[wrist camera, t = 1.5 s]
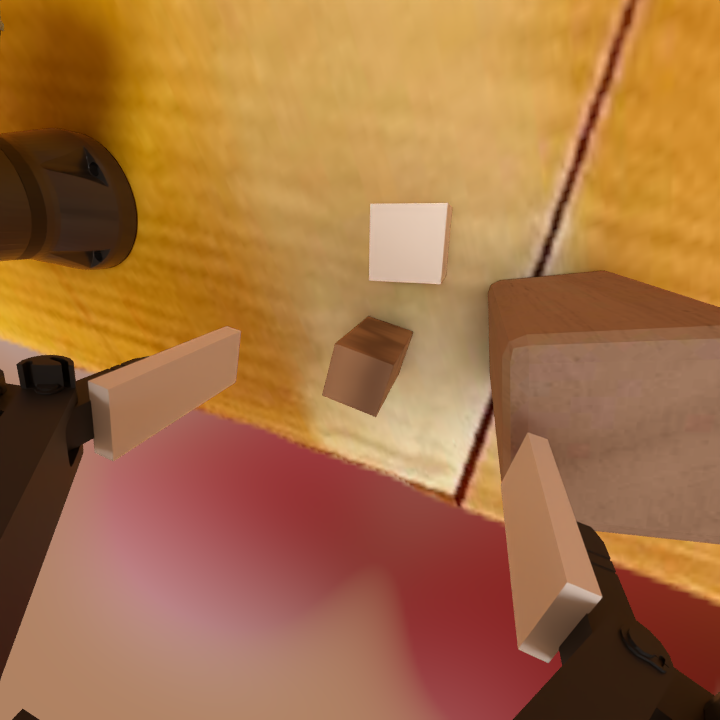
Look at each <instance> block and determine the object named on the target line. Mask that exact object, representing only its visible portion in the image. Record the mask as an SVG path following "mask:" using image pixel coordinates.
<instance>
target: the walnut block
mask: <svg viewBox="0 0 720 720" xmlns="http://www.w3.org/2000/svg"><path fill="white" fill-rule="evenodd" d="M412 334H413V332H412V331H409V330H407V329H404V328H401V327H398V326H395V325H392V324H390V323H387V322H384V321H381V320H378V319H375V318H373V317H370V316H368V317H367V318H366V319H364V320H363V321H362V322H361V323H360V324H358V325H357V326H356V327H355V328H354V329H352V330H351V331H350V332H349V333H347V334H346V335H345V336H344V337H343V338H341V339H340V340H339V341H338V342H337V343H335V347H334V351H333V354H332V358H331V362H330V366H329V370H328V374H327V378H326V382H325V386H324V390H323V394H322V395H323V396H325V397H328V398H330V399H332V400H335V401H337V402H340V403H342V404H345V405H347V406H350V407H352V408H355V409H357V410H360V411H362V412H365V413H367V414H370V415H372V416H375V417H376V416H377V414H378V412H379V410H380V408H381V406H382V405H383V403H384V401H385V399H386V397H387V395H388V393H389V391H390V389H391V387H392V385H393V384H394V382H395V380H396V378H397V376H398V374H399V371H400V369H401V366H402V363H403V360H404V357H405V354H406V351H407V349H408V346H409V343H410V340H411V337H412Z"/></svg>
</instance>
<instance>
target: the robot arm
mask: <svg viewBox="0 0 720 720" xmlns="http://www.w3.org/2000/svg"><path fill="white" fill-rule="evenodd" d="M1 30H2V31H4V24H3V22H2V21H1V18H0V34H1ZM135 234H136V210H135V204H134V199H133V195H132V192H131V189H130V186H129V184H128V181H127V179H126V177H125V175H124V173H123V171H122V170H121V168H120V166H119V165H118V163H117V162H116V160H115V159H114V158H113V156H112V155H111V154H110V153H109V152H108V151H107V150H106V149H105V148H104V147H103V146H102V145H101V144H99V143H98V142H97V141H95V140H94V139H92V138H90V137H88V136H86V135H83V134H80V133H76V132H72V131H67V130H63V129H58V128H45V129H37V130H28V131H19V132H11V133H2V134H0V261H7V260H20V259H34V260H39V261H44V262H49V263H53V264H58V265H63V266H68V267H73V268H78V269H85V270H93V269H103V268H110V267H113V266H116V265H117V264H119V263H121V262H122V261H123V260H124V259H125V258H126V257H127V255H128V254H129V252H130V250H131V248H132V246H133V243H134V239H135ZM240 336H241V331H239V330H237V329H234V328H231V327H228V326H226V327H223V328H220V329H218V330H215V331H213V332H210V333H208V334H205V335H203V336H200V337H198V338H195V339H193V340H190V341H188V342H185V343H183V344H180V345H178V346H175V347H172V348H170V349H167V350H165V351H162V352H160V353H157V354H155V355H152V356H148V357H142V358H136V359H132V360H130V361H127V362H124V363H122V364H121V365H117V366H114V367H111V368H110V369H106V370H104V371H101V372H98V373H96V374H93V375H91V376H88V377H85V378H83V379H80V380H78V381H76V379H75V371H74V362H73V361H72V360H71V359H70V358H67V357H64V356H58V355H41V356H36V357H31V358H28V359H25V360H22V361H21V362H19V363H18V364H17V369H18V375H19V380H20V386H19V385H13V384H7V383H5V378H4V373H3V371H2V370H0V679H1V676H2V673H3V670H4V668H5V665H6V662H7V660H8V657H9V654H10V651H11V649H12V646H13V643H14V641H15V638H16V635H17V632H18V630H19V627H20V624H21V621H22V618H23V616H24V613H25V611H26V608H27V605H28V602H29V600H30V597H31V594H32V592H33V589H34V586H35V583H36V580H37V578H38V575H39V572H40V569H41V567H42V564H43V562H44V559H45V556H46V553H47V551H48V548H49V545H50V542H51V540H52V537H53V534H54V532H55V529H56V526H57V523H58V521H59V518H60V515H61V512H62V510H63V507H64V504H65V502H66V499H67V496H68V493H69V491H70V487H71V485H72V482H73V479H74V477H75V474H76V472H77V469H78V466H79V463H80V461H81V458H82V455H83V444H84V443H86V442H87V441H89V440H91V439H94V449H95V453H97V454H99V455H101V456H103V457H105V458H107V459H110V460H112V461H115V460H116V459H118V458H119V457H121V456H122V455H124V454H125V453H127V452H128V451H130V450H132V449H133V448H135V447H136V446H138V445H139V444H141V443H142V442H144V441H145V440H147V439H149V438H150V437H152V436H153V435H155V434H156V433H158V432H159V431H161V430H162V429H164V428H166V427H167V426H169V425H170V424H172V423H173V422H175V421H176V420H178V419H180V418H181V417H183V416H184V415H186V414H187V413H189V412H190V411H192V410H193V409H195V408H197V407H198V406H200V405H201V404H203V403H204V402H206V401H207V400H209V399H210V398H212V397H214V396H215V395H217V394H218V393H220V392H221V391H223V390H224V389H226V388H228V387H229V386H231V385H232V384H234V383H235V382H236V376H237V366H238V356H239V346H240ZM501 491H502V500H503V510H504V519H505V529H506V538H507V547H508V557H509V567H510V576H511V586H512V594H513V604H514V614H515V624H516V633H517V643H518V649H519V650H521V651H523V652H526V653H528V654H530V655H532V656H534V657H536V658H538V659H541V660H543V661H545V662H547V663H549V662H550V660H551V659H552V658H553V657H554V655H555V654H556V653H557V652H558V651H559V652H560V656H561V662H562V667H561V668H560V669H559V670H558V671H557V672H556V673H555V674H554V675H553V677H552V678H551V679H550V680H549V681H548V682H547V683H546V684H545V685H544V686H543V687H542V689H541V690H540V691H539V692H538V693H537V694H536V695H535V696H534V697H533V698H532V700H531V701H530V702H529V703H528V704H527V705H526V706H525V707H524V708H523V709H522V710H521V711H520V712H519V714H518V715H517V716H516V717H515V718H514V719H513V720H720V692H719V693H718V694H716V695H715V696H714V695H712V694H711V693H710V692H708V691H707V690H705V689H704V688H702V687H701V686H699V685H698V684H697V683H695V682H694V681H692V680H691V679H689V678H688V677H687V676H685V675H684V674H682V673H681V672H679V671H678V670H676V669H675V668H674V667H673V664H672V661H671V658H670V656H669V654H668V653H667V651H666V650H665V648H664V647H663V645H662V644H661V642H660V641H659V640H658V639H657V638H656V637H655V636H654V635H653V634H652V633H651V632H650V631H649V630H648V629H647V628H645V627H644V626H643V625H642V624H640V623H639V622H638V621H636V619H635V617H634V614H633V612H632V610H631V607H630V605H629V602H628V600H627V597H626V595H625V593H624V590H623V588H622V585H621V583H620V580H619V578H618V576H617V575H616V574H615V572H616V571H615V568H614V566H613V564H612V561H610V556H609V554H608V551H607V549H606V547H605V544H604V542H603V541H602V540H601V539H600V537H599V536H598V535H597V533H596V532H595V531H594V530H593V528H592V527H590V526H588V525H585V524H582V523H580V522H577V521H576V520H575V517H574V514H573V511H572V508H571V505H570V502H569V499H568V497H567V494H566V491H565V488H564V485H563V482H562V479H561V477H560V474H559V471H558V468H557V465H556V462H555V459H554V456H553V454H552V451H551V448H550V445H549V442H548V439H545V438H543V437H540V436H537V435H534V434H531V433H527V435H526V437H525V438H524V440H523V442H522V444H521V446H520V448H519V450H518V452H517V454H516V456H515V458H514V459H513V461H512V463H511V465H510V467H509V469H508V471H507V473H506V475H505V477H504V479H503V481H502V482H501ZM12 720H39V719H37V718H36V717H34V716H33V715H31V714H30V713H28V712H27V711H25V710H24V709H22V710H21V711H20V712H19V713H18V714H17V715H16V716H15V717H14V718H13V719H12Z"/></svg>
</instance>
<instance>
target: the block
mask: <svg viewBox="0 0 720 720" xmlns="http://www.w3.org/2000/svg"><path fill="white" fill-rule="evenodd" d="M488 306H489V354H490V380H491V389H492V398H493V408H494V417H495V427H496V436H497V445H498V455H499V464H500V474H501V482H502V481H503V479H504V477H505V475H506V473H507V471H508V469H509V467H510V465H511V463H512V461H513V459H514V458H515V456H516V454H517V452H518V450H519V448H520V446H521V444H522V442H523V440H524V438H525V437H526V435H527V433H531V434H534V435H537V436H540V437H543V438H545V439H548V442H549V445H550V448H551V451H552V454H553V456H554V459H555V462H556V465H557V468H558V471H559V474H560V477H561V479H562V482H563V485H564V488H565V491H566V494H567V497H568V499H569V502H570V505H571V508H572V511H573V514H574V517H575V520H576V521H577V522H580V523H582V524H585V525H588V526H590V527H592V528H593V530H594V531H601V532H610V533H619V534H628V535H638V536H647V537H656V538H666V539H675V540H684V541H694V542H703V543H712V544H720V307H717V306H714V305H711V304H707V303H704V302H701V301H698V300H695V299H692V298H689V297H686V296H683V295H679V294H676V293H673V292H670V291H667V290H664V289H661V288H658V287H655V286H651V285H648V284H645V283H642V282H639V281H636V280H633V279H630V278H627V277H623V276H620V275H617V274H614V273H611V272H607V271H596V272H585V273H574V274H564V275H553V276H543V277H532V278H521V279H511V280H500V281H498V282H496V283H494V284H492V285H491V287H490V290H489V292H488Z"/></svg>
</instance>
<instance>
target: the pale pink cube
mask: <svg viewBox="0 0 720 720" xmlns="http://www.w3.org/2000/svg"><path fill="white" fill-rule="evenodd" d="M451 216H452V206H450V205H449V204H448V203H396V204H370V251H369V281H388V282H407V283H427V284H441V283H442V281H443V280H444V278H445V276H446V270H447V259H448V249H449V238H450V227H451Z"/></svg>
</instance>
